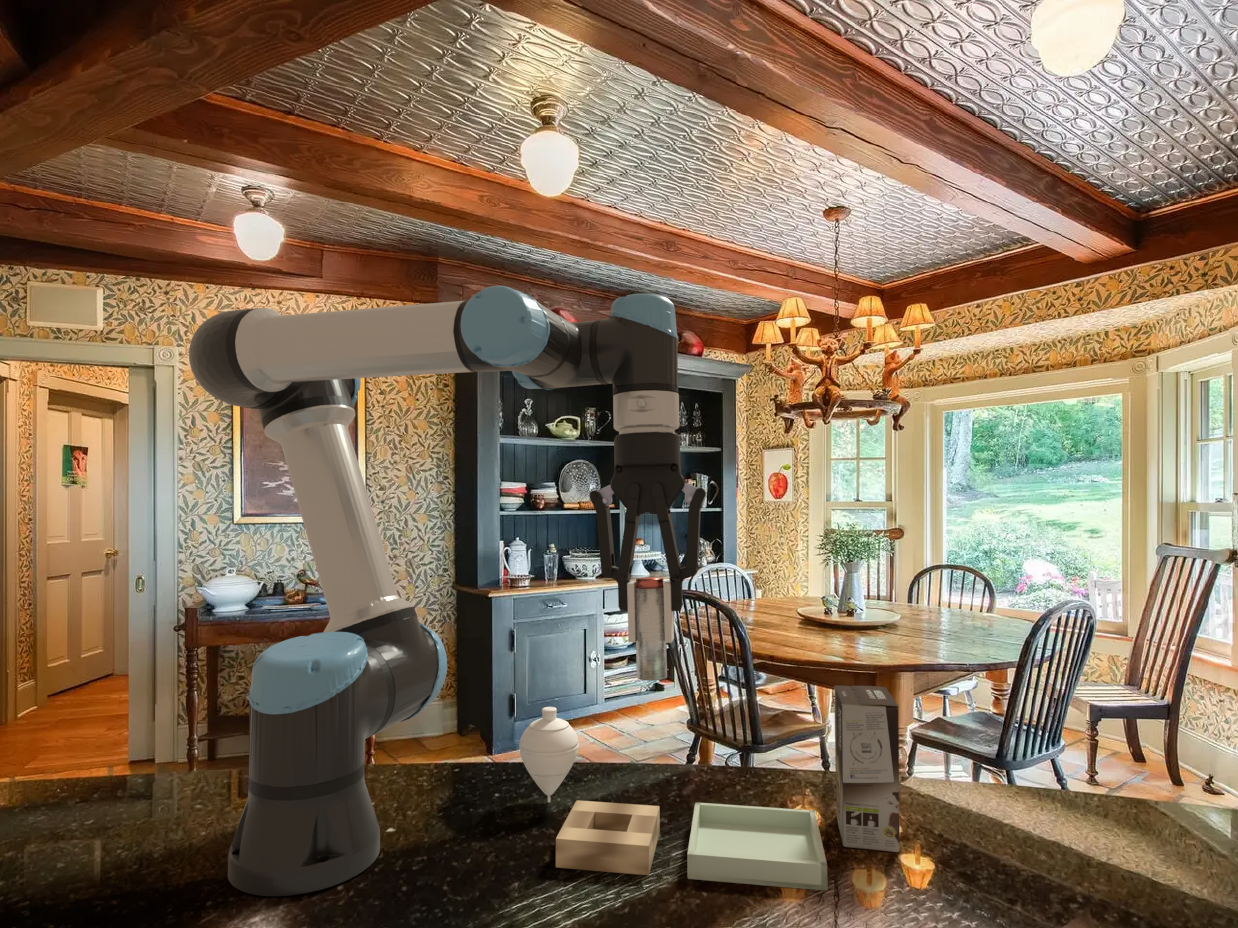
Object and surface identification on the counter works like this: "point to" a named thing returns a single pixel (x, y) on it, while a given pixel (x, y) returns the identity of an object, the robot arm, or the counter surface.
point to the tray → (756, 846)
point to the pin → (650, 629)
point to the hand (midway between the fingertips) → (651, 639)
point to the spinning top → (549, 750)
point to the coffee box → (867, 767)
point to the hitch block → (609, 837)
